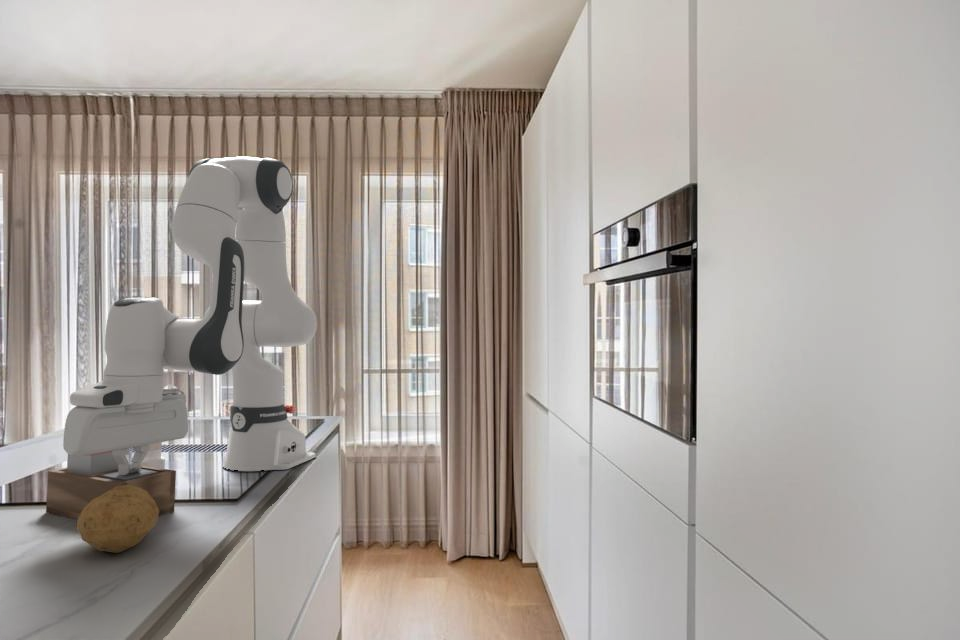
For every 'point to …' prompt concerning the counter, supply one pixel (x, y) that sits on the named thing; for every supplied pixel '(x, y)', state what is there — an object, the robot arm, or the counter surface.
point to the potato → (118, 518)
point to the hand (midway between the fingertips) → (129, 473)
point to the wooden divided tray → (104, 490)
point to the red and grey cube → (91, 463)
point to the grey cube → (127, 477)
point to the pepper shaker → (154, 456)
